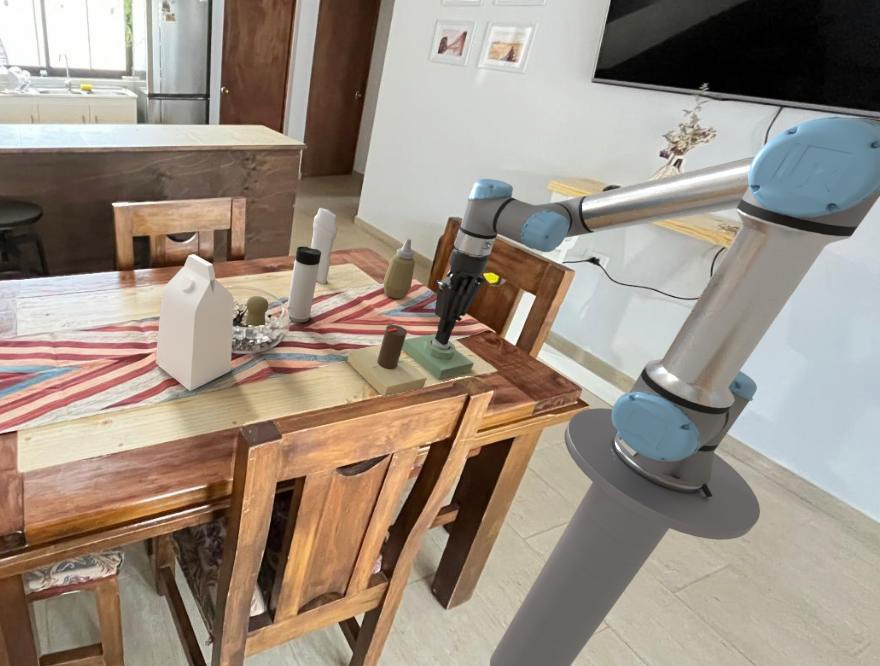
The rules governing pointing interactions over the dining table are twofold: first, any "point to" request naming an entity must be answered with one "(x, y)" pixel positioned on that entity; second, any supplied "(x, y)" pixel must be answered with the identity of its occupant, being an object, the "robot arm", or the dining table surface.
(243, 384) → the dining table surface
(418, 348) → the green slab
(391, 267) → the squeeze bottle
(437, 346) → the grey rounded lump
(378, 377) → the beige slab
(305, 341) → the dining table surface
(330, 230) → the white rounded cylinder
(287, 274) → the dining table surface
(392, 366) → the brown upright cylinder
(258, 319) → the cork
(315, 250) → the travel mug
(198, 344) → the milk
